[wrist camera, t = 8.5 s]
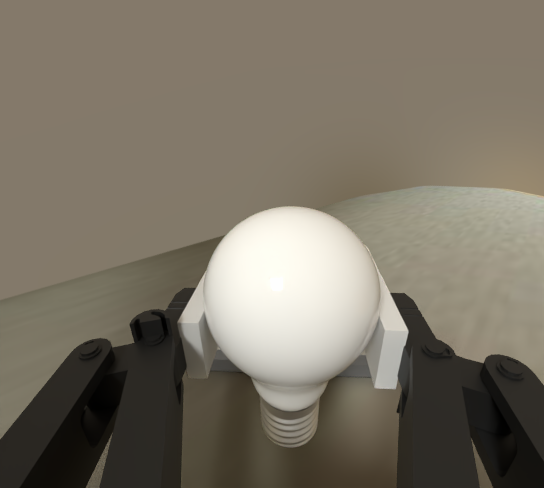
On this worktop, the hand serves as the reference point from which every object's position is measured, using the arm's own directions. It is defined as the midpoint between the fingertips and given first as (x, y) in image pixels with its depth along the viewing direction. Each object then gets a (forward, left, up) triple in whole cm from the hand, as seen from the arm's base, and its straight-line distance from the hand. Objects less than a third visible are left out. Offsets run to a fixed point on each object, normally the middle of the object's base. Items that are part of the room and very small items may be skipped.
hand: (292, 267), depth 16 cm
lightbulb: (0, -5, -6) cm, 8 cm away
